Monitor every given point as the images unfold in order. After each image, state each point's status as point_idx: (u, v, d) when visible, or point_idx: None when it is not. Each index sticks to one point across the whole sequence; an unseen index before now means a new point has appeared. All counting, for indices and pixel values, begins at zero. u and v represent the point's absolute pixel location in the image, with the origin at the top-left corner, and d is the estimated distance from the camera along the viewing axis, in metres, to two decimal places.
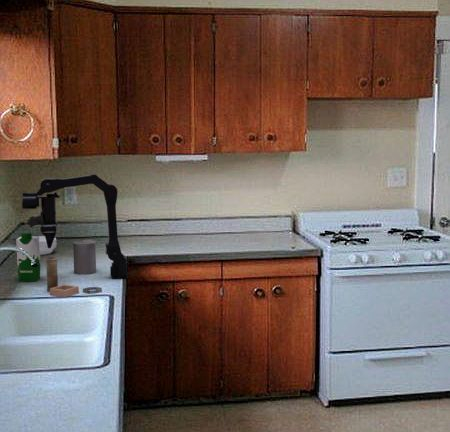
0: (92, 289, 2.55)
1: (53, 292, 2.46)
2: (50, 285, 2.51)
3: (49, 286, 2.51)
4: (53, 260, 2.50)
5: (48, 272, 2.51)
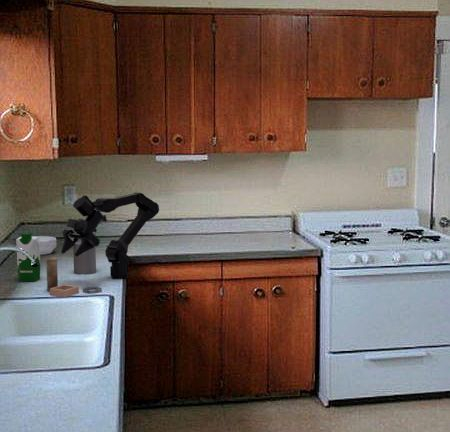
0: (92, 289, 2.55)
1: (53, 292, 2.46)
2: (50, 285, 2.51)
3: (49, 286, 2.51)
4: (53, 260, 2.50)
5: (48, 272, 2.51)
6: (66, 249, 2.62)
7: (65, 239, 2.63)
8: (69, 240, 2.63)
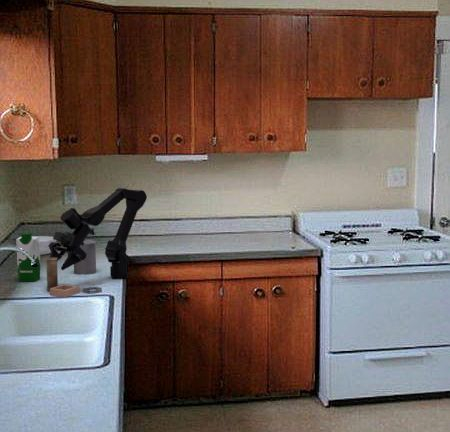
0: (92, 289, 2.55)
1: (53, 292, 2.46)
2: (50, 285, 2.51)
3: (49, 286, 2.51)
4: (53, 260, 2.50)
5: (48, 272, 2.51)
6: None
7: (51, 252, 2.58)
8: (56, 253, 2.59)
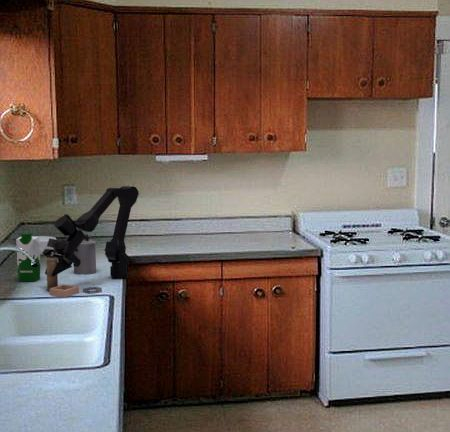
0: (92, 289, 2.55)
1: (53, 292, 2.46)
2: (50, 285, 2.51)
3: (49, 286, 2.51)
4: (53, 260, 2.50)
5: (48, 272, 2.51)
6: None
7: None
8: None
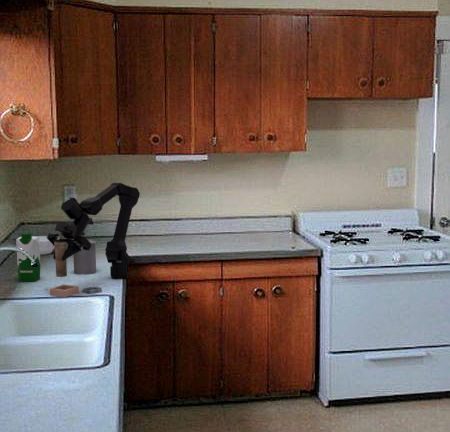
0: (92, 289, 2.55)
1: (53, 292, 2.46)
2: (60, 269, 2.46)
3: (59, 271, 2.46)
4: (63, 244, 2.45)
5: (58, 256, 2.46)
6: None
7: None
8: None
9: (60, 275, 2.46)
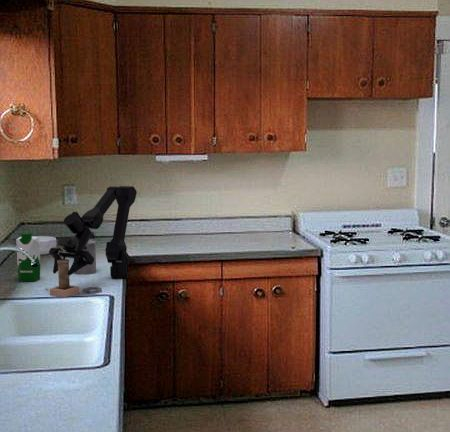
0: (92, 289, 2.55)
1: (53, 292, 2.46)
2: (63, 288, 2.46)
3: (62, 289, 2.46)
4: (66, 262, 2.46)
5: (61, 275, 2.46)
6: (57, 269, 2.50)
7: (55, 258, 2.50)
8: (59, 259, 2.51)
9: None
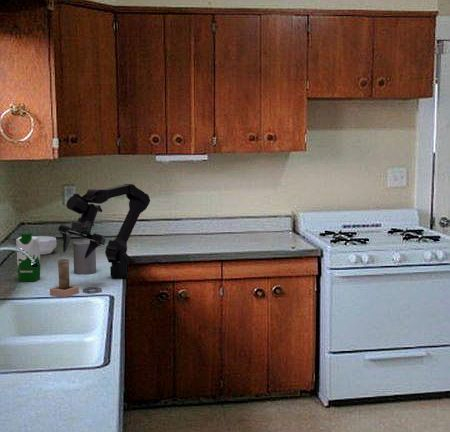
0: (92, 289, 2.55)
1: (53, 292, 2.46)
2: (63, 288, 2.46)
3: (62, 289, 2.46)
4: (66, 262, 2.46)
5: (61, 275, 2.46)
6: (66, 247, 2.60)
7: (64, 237, 2.59)
8: (67, 237, 2.60)
9: None
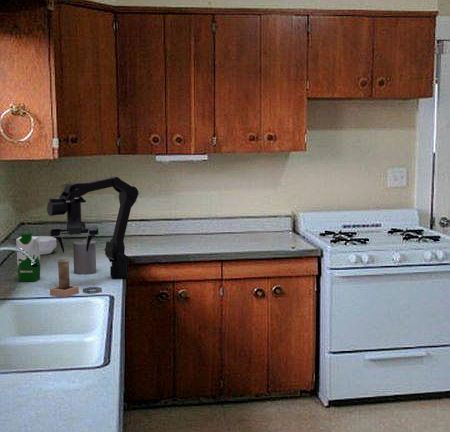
0: (92, 289, 2.55)
1: (53, 292, 2.46)
2: (63, 288, 2.46)
3: (62, 289, 2.46)
4: (66, 262, 2.46)
5: (61, 275, 2.46)
6: (63, 246, 2.64)
7: (60, 240, 2.61)
8: None
9: None
